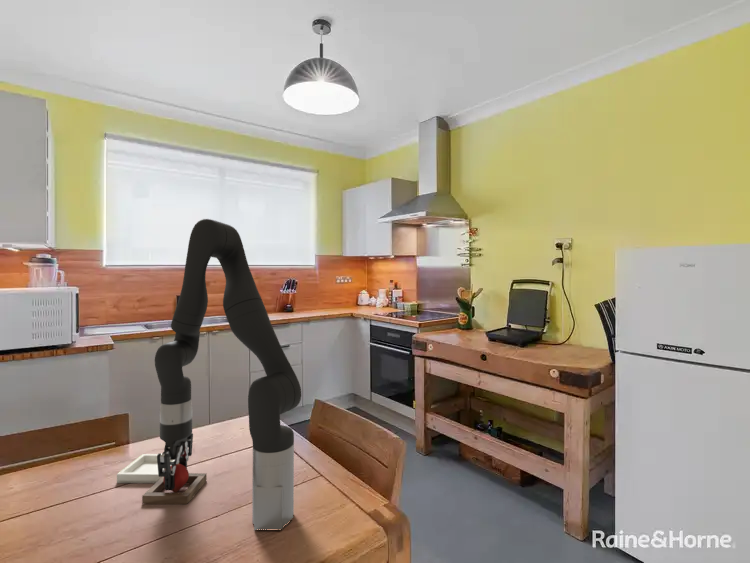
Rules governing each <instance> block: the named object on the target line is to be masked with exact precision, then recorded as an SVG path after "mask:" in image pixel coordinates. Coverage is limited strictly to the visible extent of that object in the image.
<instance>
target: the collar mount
mask: <svg viewBox="0 0 750 563" xmlns="http://www.w3.org/2000/svg"><path fill="white" fill-rule="evenodd" d="M207 474H208V473H202V472H201V473H198V472H197V473H194V472H189V477H188V480H187V482H186V483H192V484H190V485H189V486H188V487H187V488H186V490H185V491H184V492H162V491H163V490H165V489H164V482H163V479H164V477H162V478H161V479H160V480H158V481H157V482H156V483H153V485H152V486H151V487H150V488H149V489H147V491H145V493H143V494H142V496H141V497H142V498H141V499H142V500H141V503H142V505H188V504H189V503H190V501H191V500H192V499H193V496H196V494H197V493H198V492H199V490H200V489H201V488H202V487H203V486H202V485H205V483H206V482H207V481H206V480H207V476H208V475H207ZM201 486H202V487H201ZM200 487H201V488H200ZM197 491H198V492H197Z"/></svg>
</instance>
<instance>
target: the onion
mask: <svg viewBox="0 0 750 563" xmlns="http://www.w3.org/2000/svg"><path fill="white" fill-rule="evenodd" d="M170 467H171V468H172V466H170ZM189 473H190V472H189V471H188V467H187V468H186V467H185V466H184V465H182V464H179V463H178V465H176V468H175V473H174V474H175V488H174V489H173V490H170V492H171V491H172V493H179V492H180V490H182V488H183V487H184V486H185V485H186V482H187V480H188V477H189ZM163 482H164V479H163Z"/></svg>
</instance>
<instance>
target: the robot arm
mask: <svg viewBox="0 0 750 563" xmlns="http://www.w3.org/2000/svg"><path fill="white" fill-rule="evenodd" d="M245 252H246V251H245V249H244V245H243V242H242V238H241V236H240V234H239V232H238V230H237V229H236V228H235V227H233V226H232V225H231V224H227V223H225V222H221V221H218V220H214V219H211V218H202V219H200V220H199V221H197V222H196V223H195V224H194V226H193V228H192V230H191V232H190V236H189V240H188V246H187V253H186V259H185V265H184V272H183V274H184V275H183V280H182V286H181V290H180V295H179V298H178V302H177V303H176V307H175V311H174V313H173V315H172V316H173V317H172V319H171V322H170V328H171V330H172V331H173V332H174V334H175V335H174V339H173V341H170V342H167V343H163V344H162V345H161V346H159V347H158V348H157V350H156V352H155V354H154V355H155V356H154V368H155V371H156V375H157V378H158V382H159V385H160V409H159V438H160V440H162V441H163V442H164V448H163V452H162V453H157V454H158V455H157V464H158V475H159V477H164V489H163V490H165V491H171V490H173V489H174V488H175V474H174V473H175V468H176V465H178V463H179V464H182V465H184V466H185V467H186V468H187V469H188V462H189V459H190V458H189V457H191V456H192V454H193V441H194V433H193V404H192V381H191V379H190V378H189V377H188V376H185V375H184V371H183V367H185V366H188V365H189V364H191V363H192V362H193V361H194V359H195V358H196V356H197V354H198V350H199V345H200V333H201V332H200V331H201V328H202V325H203V321H204V318H205V316H206V312H207V310H208V309H207V308H208V304H209V296H208V288H207V283H206V273H207V268H208V266H209V265H208V264H209V262H210V260H211V258H214V259H217V260H218V262H219V264H220V266H221V268H222V270H223V271H222V272H223V274H224V277H225V278H224V279H225V287H224V290H223V292H224V293H223V299H222V306H223V310H224V314H225V317H226V319H227V322H228V325H229V328H230V330H231V332H232V333H233V335H234V337H236V338H237V340H239V341H240V342H241V343H242V344H243V345H244V346H245V347H246V348H247V349H249V351H251V352H252V353H253V354H254V355H255V356H256V357H257V359H258V360H259V362H260V363H261V365H262V367H263V370H264V372H265V376H261V377H260V378H257V379H255V380H254V381H252V383H251V384H250V387H249V389H248V394H247V410H248V428H249V433H250V434H249V435H250V438H251V441H252V488H251V489H252V492H251V493H252V495H251V496H252V504H251V506H252V507H251V508H252V513H251V514H252V525H253V524H254V525H253V531H255V530H257V529H258V530H259V529H260V530H261V529H262V530H263V529H264V530H265V529H266V530H267V529H282V528H283V529H284V527H283V526H284V525H285V524H287V523H288V522H289V521H290V520H291V519H292V518H293V519H294V516H293V515H294V510H295V509H294V507H295V506H294V505H295V504H294V501H295V500H294V499H295V498H294V497H295V496H294V494H295V493H294V491H295V490H294V488H295V486H294V485H295V483H294V482H295V479H294V478H295V475H294V474H295V471H294V470H295V469H294V468H295V463H294V462H295V433H294V431H293V429H292V428H291V427H289V426H286V425H283V424H281V415H282V414H284V413H286V412H289V411H292V410H293V409H295V408H297V407H298V406H299V404H300V403H301V400H302V388H301V385H300V382H299V379H298V377H297V375H296V372H295V370H294V369H293V367H292V365H291V363H290V361H289V359H288V358H287V355H286V354H285V351H284V350H283V347H282V346H281V344H280V342H279V339H278V336H277V334H276V332H275V330H274V327H273V325H272V322H271V320H270V317H269V314H268V311H267V310H266V309H267V308H266V306H265V304H264V302H263V298H262V296H261V294H260V292H259V290H258V287H257V285H256V282H255V279H254V276H253V274H252V272H251V269H250V266H249V262H248V259H247V256H246V253H245ZM170 460H175V461H174V462H170ZM170 465H172V468H171V467H170ZM163 468H164V469H163ZM293 519H292V520H293ZM283 529H282V530H283Z"/></svg>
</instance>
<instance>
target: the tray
mask: <svg viewBox="0 0 750 563" xmlns="http://www.w3.org/2000/svg"><path fill="white" fill-rule="evenodd" d="M158 454H159V453H143V454H141V455H140V456H139V457H137V458H136V459H134V460H133V461H132V462H131V463H129V464H128V465H126V467H124V468H123V469H121V470H120V471H119V472H118V473H116V483H117V484H155V483H156V482H157V481H158V480H160V479H161V478H162V477H159V475H158V464H157V455H158ZM174 461H175V460H170V462H174ZM170 466H172V465H170ZM163 469H164V468H163Z"/></svg>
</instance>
